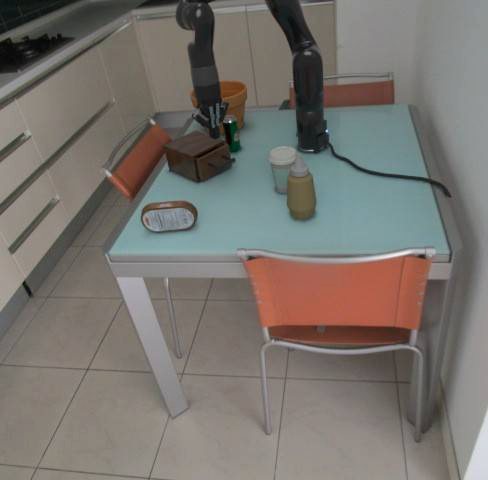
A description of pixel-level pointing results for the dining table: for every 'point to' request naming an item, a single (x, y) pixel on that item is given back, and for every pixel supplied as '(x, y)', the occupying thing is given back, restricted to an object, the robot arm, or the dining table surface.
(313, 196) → the squeeze bottle
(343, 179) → the dining table surface
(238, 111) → the flower pot
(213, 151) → the drawer
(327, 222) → the dining table surface
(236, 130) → the soda can
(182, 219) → the tin
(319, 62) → the robot arm
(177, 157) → the cabinet
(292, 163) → the coffee cup
